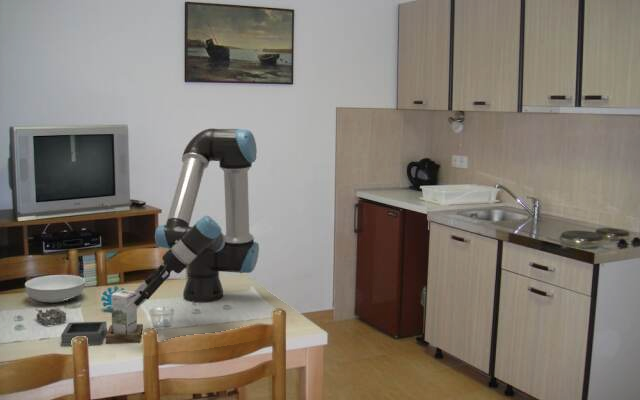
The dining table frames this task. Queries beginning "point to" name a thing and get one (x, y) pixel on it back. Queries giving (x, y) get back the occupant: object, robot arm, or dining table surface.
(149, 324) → the dining table surface
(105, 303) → the gear
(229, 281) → the dining table surface
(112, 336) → the walnut collar
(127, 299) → the syrup box
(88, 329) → the dark grey square tray
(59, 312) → the grey lumpy mound
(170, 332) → the dining table surface
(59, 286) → the serving bowl
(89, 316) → the dining table surface
